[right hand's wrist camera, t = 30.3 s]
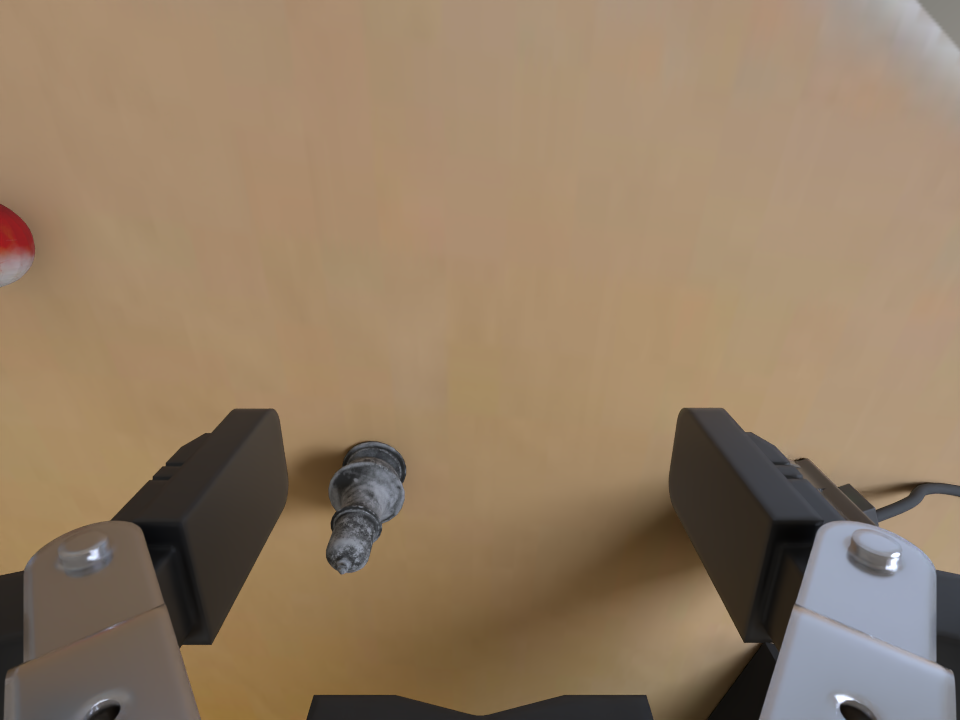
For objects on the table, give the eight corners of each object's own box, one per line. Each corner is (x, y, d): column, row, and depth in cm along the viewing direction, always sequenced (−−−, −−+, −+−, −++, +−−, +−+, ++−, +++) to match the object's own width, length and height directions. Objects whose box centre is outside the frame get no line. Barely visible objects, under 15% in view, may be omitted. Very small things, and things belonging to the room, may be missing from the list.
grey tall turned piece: (404, 503, 48) (382, 614, 37) (336, 492, 47) (291, 602, 36) (414, 444, 46) (393, 543, 34) (342, 432, 45) (297, 529, 34)
